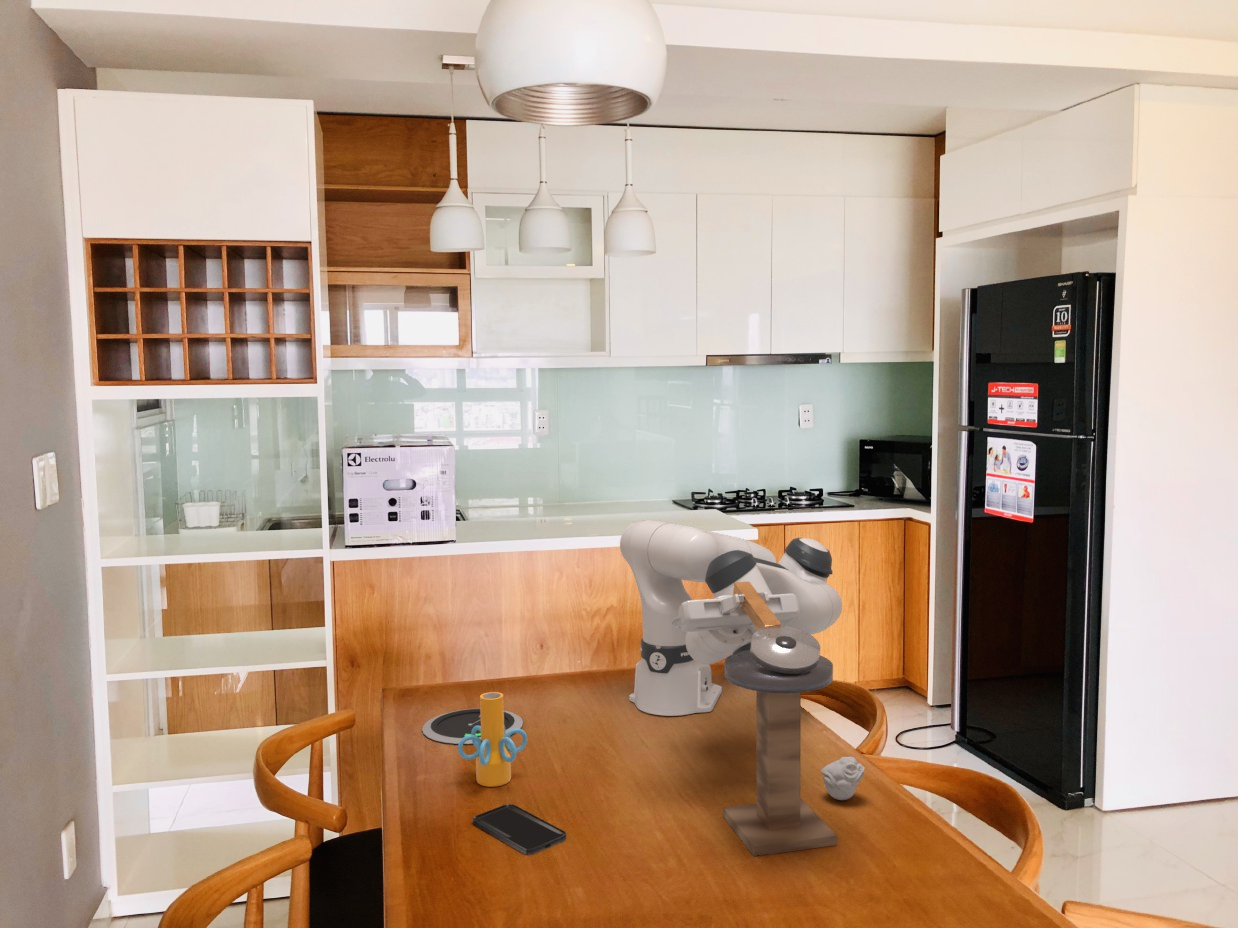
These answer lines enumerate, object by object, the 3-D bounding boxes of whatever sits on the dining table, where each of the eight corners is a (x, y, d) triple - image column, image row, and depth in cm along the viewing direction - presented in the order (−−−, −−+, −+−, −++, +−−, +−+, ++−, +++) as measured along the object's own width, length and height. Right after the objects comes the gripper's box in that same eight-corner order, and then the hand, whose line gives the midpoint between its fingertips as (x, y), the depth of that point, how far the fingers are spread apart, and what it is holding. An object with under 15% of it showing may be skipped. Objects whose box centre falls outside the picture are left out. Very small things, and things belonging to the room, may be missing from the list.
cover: (711, 595, 156) (712, 583, 156) (768, 591, 159) (770, 579, 158) (764, 676, 135) (766, 662, 134) (830, 670, 137) (832, 656, 136)
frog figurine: (863, 809, 151) (864, 766, 151) (818, 804, 154) (819, 762, 153) (865, 793, 157) (865, 752, 157) (822, 788, 159) (822, 748, 159)
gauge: (525, 742, 183) (525, 737, 182) (419, 749, 180) (418, 744, 180) (521, 707, 202) (521, 703, 202) (425, 713, 200) (425, 709, 199)
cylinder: (512, 797, 158) (509, 709, 156) (452, 792, 160) (450, 705, 158) (533, 768, 170) (531, 686, 168) (477, 764, 172) (475, 683, 170)
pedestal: (711, 813, 151) (710, 652, 148) (805, 802, 154) (805, 644, 152) (747, 862, 135) (747, 683, 133) (851, 848, 139) (852, 674, 137)
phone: (510, 802, 154) (569, 833, 143) (510, 809, 154) (569, 840, 143) (469, 818, 149) (527, 851, 138) (469, 825, 149) (527, 859, 138)
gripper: (666, 608, 163) (687, 582, 151) (778, 601, 168) (806, 575, 156) (672, 644, 161) (693, 621, 149) (785, 635, 165) (814, 612, 153)
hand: (752, 597), depth 152 cm, fingers closed on cover, 3 cm apart
